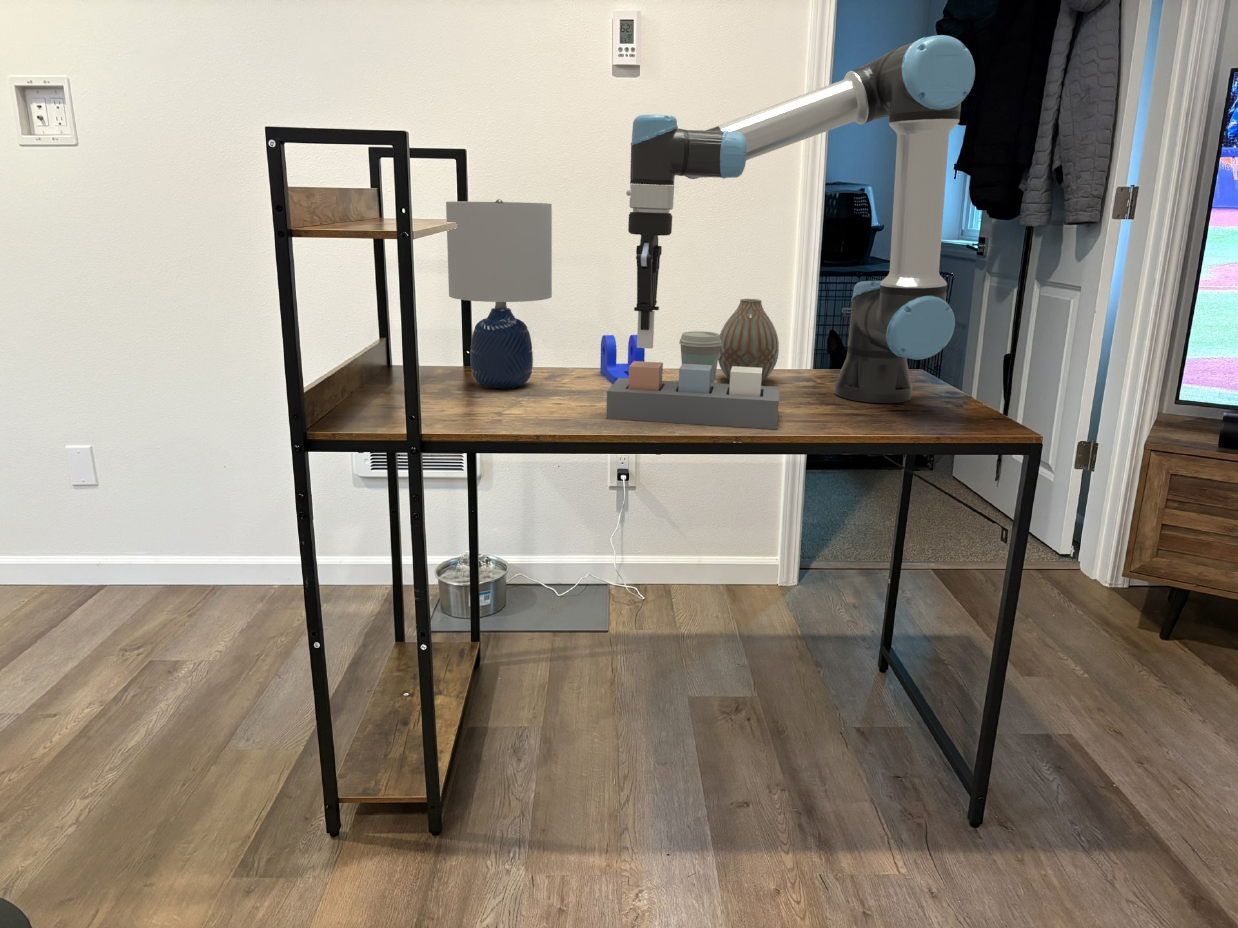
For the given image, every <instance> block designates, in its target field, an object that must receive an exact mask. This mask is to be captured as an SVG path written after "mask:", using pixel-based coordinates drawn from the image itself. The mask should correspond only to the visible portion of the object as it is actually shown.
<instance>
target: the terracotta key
mask: <svg viewBox="0 0 1238 928" xmlns="http://www.w3.org/2000/svg"><path fill="white" fill-rule="evenodd" d="M663 365H664V362H657V361H655V362H654V361H644V362H642V361H633V362H632V364H631V365H630V366H629V385H628V389H638V390H656V391H659V390H660V389H661V387H662V381H663V371H664V370H663V368H664V366H663Z"/></svg>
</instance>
